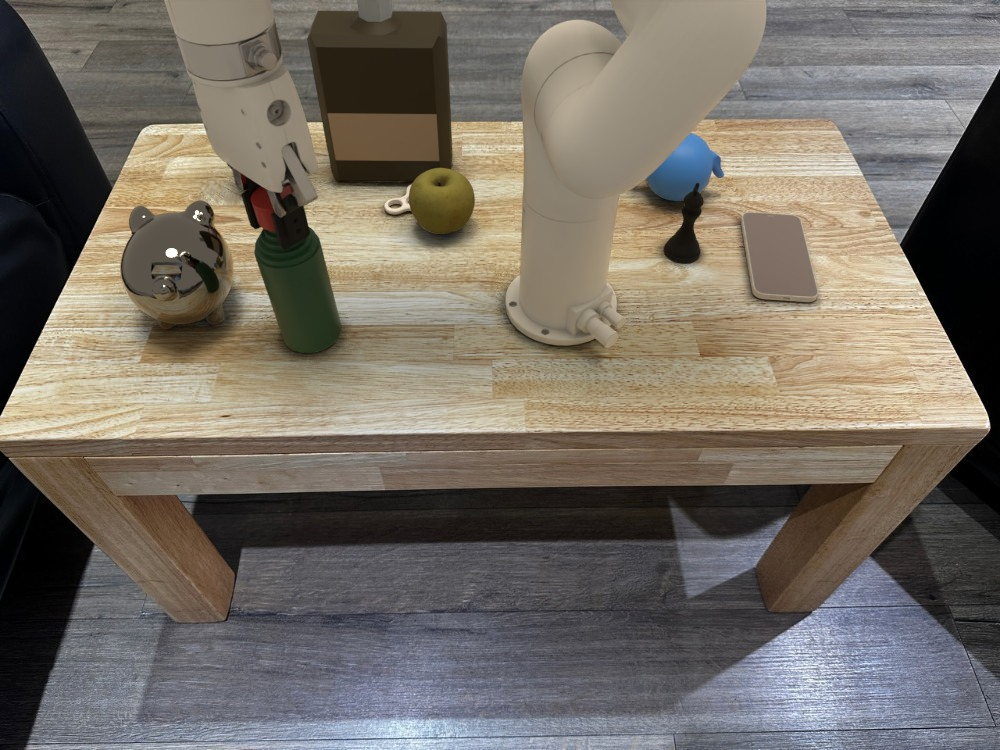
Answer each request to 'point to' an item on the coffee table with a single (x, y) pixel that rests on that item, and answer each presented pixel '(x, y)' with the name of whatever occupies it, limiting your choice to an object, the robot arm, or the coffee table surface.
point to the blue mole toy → (685, 169)
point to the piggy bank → (177, 265)
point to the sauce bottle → (299, 291)
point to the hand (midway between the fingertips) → (280, 229)
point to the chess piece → (686, 231)
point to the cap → (265, 207)
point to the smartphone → (778, 257)
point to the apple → (441, 200)
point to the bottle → (382, 91)
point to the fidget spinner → (400, 201)
